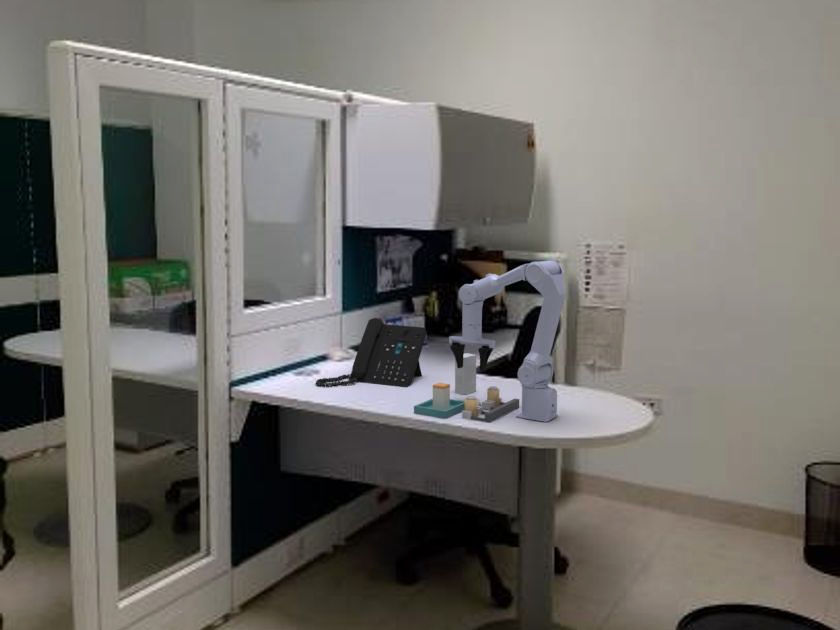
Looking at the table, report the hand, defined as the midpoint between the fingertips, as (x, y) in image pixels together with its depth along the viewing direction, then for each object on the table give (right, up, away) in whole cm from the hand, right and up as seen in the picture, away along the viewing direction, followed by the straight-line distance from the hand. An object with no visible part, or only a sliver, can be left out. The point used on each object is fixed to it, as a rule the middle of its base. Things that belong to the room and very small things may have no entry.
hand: (471, 369), depth 237 cm
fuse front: (-1, -12, -13) cm, 18 cm away
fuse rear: (+6, -11, -1) cm, 13 cm away
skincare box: (-1, -9, +15) cm, 17 cm away
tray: (-9, -12, -7) cm, 17 cm away
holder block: (+5, -12, -9) cm, 16 cm away
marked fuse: (-9, -11, -7) cm, 16 cm away
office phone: (-32, -7, +30) cm, 44 cm away
